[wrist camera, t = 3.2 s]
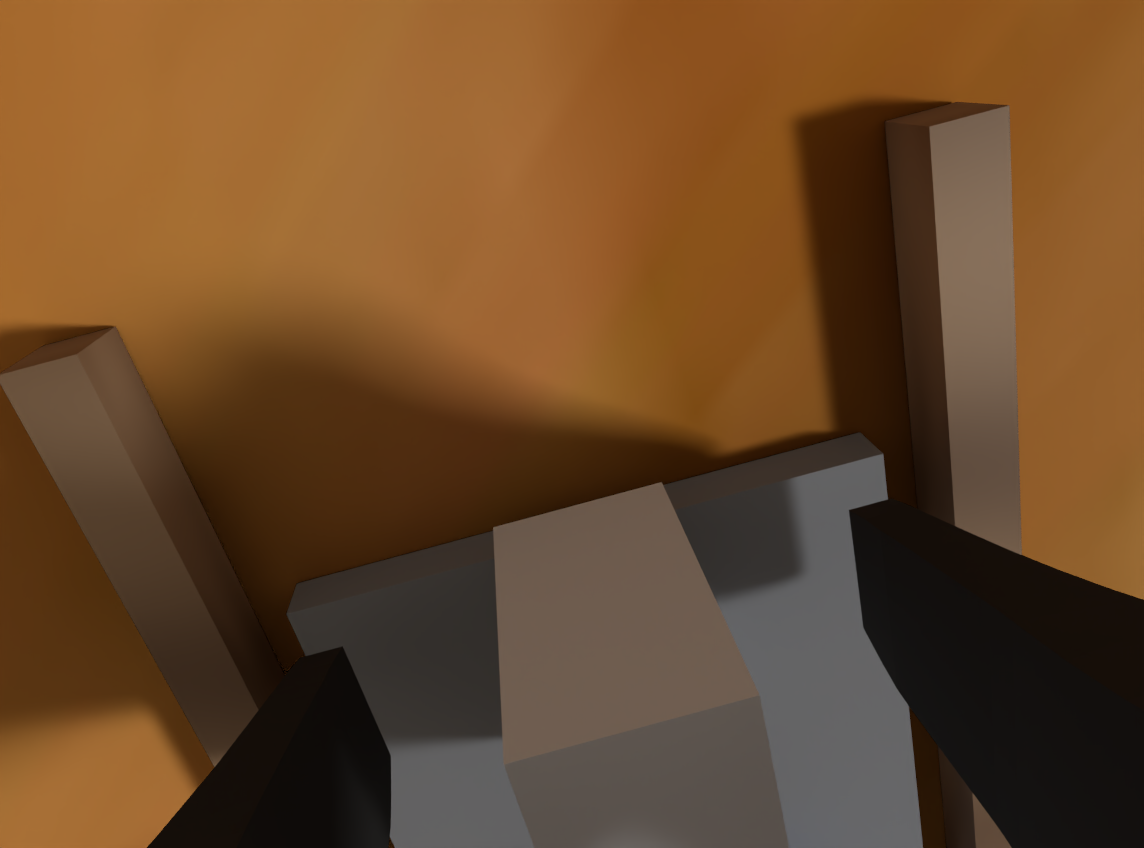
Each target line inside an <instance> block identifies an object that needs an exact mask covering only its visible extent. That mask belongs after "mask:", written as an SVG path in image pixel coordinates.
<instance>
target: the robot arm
mask: <svg viewBox="0 0 1144 848" xmlns="http://www.w3.org/2000/svg"><path fill="white" fill-rule="evenodd" d="M849 516H850V524H851V532H852V540H853V548H854V556H855V564H856V572H857V580H858V588H859V596H860V605H861V613H862V621H863V628H864V630H865V632H866V634H867V636H868V638H869V639H870V641H871V643H872V645H873V647H874V649H875V651H876V652H877V654H878V656H879V658H880V660H881V662H882V664H883V665H884V667H885V669H886V671H887V672H888V674H889V676H890V678H891V679H892V681H893V683H894V685H895V686H896V688H897V690H898V691H899V693H900V694H901V695H902V697H903V698H904V700H905V701H906V703H907V704H908V705H909V707H910V708H911V709H912V711H913V712H914V714H915V715H916V716H917V718H918V719H919V720H920V722H921V723H922V725H923V726H924V727H925V729H926V730H927V732H928V733H929V734H930V736H931V737H932V738H933V740H934V741H935V742H936V744H937V745H938V747H939V748H940V749H941V751H942V752H943V753H944V755H945V756H946V757H947V759H948V760H949V761H950V763H951V764H952V766H953V767H954V768H955V770H956V771H957V772H958V774H959V775H960V776H961V778H962V779H963V780H964V782H965V783H966V785H967V786H968V787H969V789H970V790H971V791H972V793H973V794H974V795H975V797H976V798H977V799H978V801H979V802H980V804H981V805H982V806H983V808H984V809H985V810H986V812H987V813H988V814H989V816H990V817H991V818H992V820H993V821H994V823H995V824H996V825H997V827H998V828H999V830H1000V831H1001V832H1002V834H1003V835H1004V837H1005V838H1006V840H1007V841H1008V843H1009V844H1010V846H1011V847H1012V848H1144V600H1143V599H1139V598H1136V597H1133V596H1130V595H1127V594H1124V593H1121V592H1118V591H1115V590H1112V589H1109V588H1106V587H1104V586H1101V585H1098V584H1096V583H1093V582H1090V581H1087V580H1085V579H1082V578H1079V577H1076V576H1074V575H1071V574H1068V573H1066V572H1063V571H1060V570H1057V569H1055V568H1052V567H1050V566H1047V565H1045V564H1042V563H1040V562H1037V561H1035V560H1032V559H1030V558H1028V557H1025V556H1023V555H1020V554H1018V553H1015V552H1013V551H1011V550H1008V549H1006V548H1004V547H1001V546H999V545H997V544H994V543H992V542H990V541H988V540H985V539H983V538H981V537H978V536H976V535H974V534H972V533H969V532H967V531H965V530H963V529H961V528H958V527H956V526H954V525H952V524H950V523H947V522H945V521H943V520H941V519H938V518H936V517H934V516H932V515H930V514H927V513H925V512H923V511H921V510H918V509H916V508H914V507H912V506H909V505H907V504H905V503H902V502H900V501H897V500H894V499H892V498H891V499H888V500H884V501H880V502H877V503H873V504H869V505H865V506H862V507H858V508H854V509H851V510H849ZM390 829H391V755H390V752H389V750H388V748H387V746H386V743H385V741H384V739H383V737H382V734H381V732H380V730H379V727H378V725H377V723H376V721H375V718H374V716H373V714H372V712H371V709H370V707H369V705H368V703H367V700H366V698H365V696H364V693H363V691H362V689H361V687H360V684H359V682H358V680H357V678H356V675H355V673H354V671H353V668H352V666H351V664H350V662H349V659H348V657H347V655H346V653H345V650H344V648H343V646H342V647H338V648H334V649H331V650H327V651H323V652H320V653H316V654H312V655H308V656H305V657H301V658H299V660H298V661H297V662H296V663H295V664H294V665H293V667H292V668H291V669H290V670H289V671H288V673H287V674H286V675H285V676H284V678H283V679H282V680H281V682H280V683H279V684H278V685H277V687H276V688H275V689H274V691H273V692H272V693H271V695H270V696H269V697H268V698H267V700H266V701H265V702H264V704H263V705H262V706H261V708H260V709H259V710H258V712H257V713H256V714H255V716H254V717H253V718H252V720H251V721H250V722H249V724H248V725H247V726H246V727H245V729H244V730H243V731H242V733H241V734H240V735H239V736H238V738H237V739H236V740H235V742H234V743H233V744H232V745H231V747H230V748H229V749H228V751H227V752H226V753H225V755H224V756H223V757H222V758H221V760H220V761H219V762H218V764H217V765H216V766H215V767H214V769H213V770H212V771H211V772H210V774H209V775H208V776H207V777H206V779H205V780H204V781H203V782H202V783H201V784H200V786H199V787H198V788H197V789H196V790H195V792H194V793H193V794H192V795H191V796H190V798H189V799H188V800H187V801H186V802H185V803H184V805H183V806H182V807H181V808H180V809H179V811H178V812H177V813H176V814H175V815H174V817H173V818H172V819H171V820H170V821H169V823H168V824H167V825H166V826H165V827H164V828H163V830H162V831H161V832H160V833H159V834H158V836H157V837H156V838H155V839H154V840H153V841H152V842H151V844H150V845H149V846H148V847H147V848H388V846H389V837H390Z"/></svg>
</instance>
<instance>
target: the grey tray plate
mask: <svg viewBox="0 0 1144 848" xmlns="http://www.w3.org/2000/svg"><path fill="white" fill-rule="evenodd" d="M884 500H888V496H887V486H886V476H885V466H884V456H883V453H882V452H881V451H880V450H879V449H878V448H877V447H876V446H874V445H873V444H872V443H871V442H870V441H869V440H868V439H867V438H866V437H865V436H864V435H863V434H862V433H860V432H859V433H855V434H851V435H848V436H844V437H840V438H836V439H833V440H829V441H825V442H822V443H818V444H814V445H810V446H807V447H803V448H799V449H796V450H792V451H788V452H784V453H781V454H777V455H773V456H770V457H766V458H762V459H758V460H755V461H751V462H747V463H743V464H740V465H736V466H732V467H729V468H725V469H721V470H717V471H714V472H710V473H706V474H703V475H699V476H695V477H691V478H688V479H684V480H680V481H677V482H673V483H669V484H665V485H663V484H662V482H660V483H656V484H652V485H649V486H645V487H641V488H638V489H634V490H630V491H626V492H623V493H619V494H615V495H612V496H608V497H604V498H600V499H597V500H593V501H589V502H585V503H582V504H578V505H574V506H571V507H567V508H563V509H559V510H556V511H552V512H548V513H545V514H541V515H537V516H533V517H530V518H526V519H522V520H519V521H515V522H511V523H507V524H504V525H500V526H496V527H493V531H490V532H487V533H483V534H479V535H476V536H472V537H468V538H464V539H461V540H457V541H453V542H450V543H446V544H442V545H438V546H435V547H431V548H427V549H424V550H420V551H416V552H412V553H409V554H405V555H401V556H397V557H394V558H390V559H386V560H383V561H379V562H375V563H371V564H368V565H364V566H360V567H357V568H353V569H349V570H345V571H342V572H338V573H334V574H331V575H327V576H323V577H319V578H316V579H312V580H308V581H304V582H301V583H297V585H296V588H295V590H294V593H293V596H292V599H291V602H290V605H289V608H288V611H287V614H286V615H287V617H288V619H289V621H290V623H291V625H292V627H293V630H294V632H295V634H296V636H297V638H298V640H299V643H300V645H301V647H302V649H303V651H304V653H305V655H306V656H308V655H312V654H316V653H320V652H323V651H327V650H331V649H334V648H338V647H342V646H343V648H344V650H345V653H346V655H347V657H348V659H349V662H350V664H351V666H352V668H353V671H354V673H355V675H356V678H357V680H358V682H359V684H360V687H361V689H362V691H363V693H364V696H365V698H366V700H367V703H368V705H369V707H370V709H371V712H372V714H373V716H374V718H375V721H376V723H377V725H378V727H379V730H380V732H381V734H382V737H383V739H384V741H385V743H386V746H387V748H388V750H389V752H390V755H391V829H390V838H391V840H392V842H393V844H394V847H395V848H923V842H922V832H921V822H920V812H919V802H918V793H917V783H916V773H915V763H914V753H913V743H912V733H911V723H910V714H909V705H908V704H907V703H906V701H905V700H904V698H903V697H902V695H901V694H900V693H899V691H898V690H897V688H896V686H895V685H894V683H893V681H892V679H891V678H890V676H889V674H888V672H887V671H886V669H885V667H884V665H883V664H882V662H881V660H880V658H879V656H878V654H877V652H876V651H875V649H874V647H873V645H872V643H871V641H870V639H869V638H868V636H867V634H866V632H865V630H864V628H863V621H862V613H861V605H860V596H859V588H858V580H857V572H856V564H855V556H854V548H853V540H852V532H851V524H850V516H849V510H851V509H854V508H858V507H862V506H865V505H869V504H873V503H877V502H880V501H884Z"/></svg>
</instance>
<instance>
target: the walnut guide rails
mask: <svg viewBox="0 0 1144 848" xmlns="http://www.w3.org/2000/svg"><path fill="white" fill-rule="evenodd" d="M885 131H886V143H887V154H888V166H889V178H890V190H891V202H892V213H893V225H894V237H895V249H896V260H897V272H898V284H899V296H900V307H901V319H902V331H903V343H904V354H905V366H906V378H907V390H908V401H909V413H910V425H911V437H912V448H913V460H914V472H915V484H916V496H917V507H918V510H921V511H923V512H925V513H927V514H930V515H932V516H934V517H936V518H938V519H941V520H943V521H945V522H947V523H950V524H952V525H954V526H956V527H958V528H961V529H963V530H965V531H967V532H969V533H972V534H974V535H976V536H978V537H981V538H983V539H985V540H988V541H990V542H992V543H994V544H997V545H999V546H1001V547H1004V548H1006V549H1008V550H1011V551H1013V552H1015V553H1018V554H1020V555H1022V549H1021V513H1020V476H1019V440H1018V404H1017V368H1016V331H1015V295H1014V259H1013V222H1012V186H1011V150H1010V113H1009V105H995V104H980V103H964V102H955V103H951V104H948V105H944V106H940V107H936V108H933V109H929V110H925V111H921V112H918V113H914V114H910V115H906V116H903V117H899V118H895V119H891V120H888V121H885ZM0 384H1V386H2V388H3V390H4V392H5V393H6V395H7V397H8V399H9V401H10V402H11V404H12V406H13V408H14V409H15V411H16V413H17V415H18V417H19V418H20V420H21V422H22V424H23V426H24V427H25V429H26V431H27V433H28V435H29V436H30V438H31V440H32V442H33V443H34V445H35V447H36V449H37V451H38V452H39V454H40V456H41V458H42V460H43V461H44V463H45V465H46V467H47V469H48V470H49V472H50V474H51V476H52V477H53V479H54V481H55V483H56V485H57V486H58V488H59V490H60V492H61V494H62V495H63V497H64V499H65V501H66V503H67V504H68V506H69V508H70V510H71V511H72V513H73V515H74V517H75V519H76V520H77V522H78V524H79V526H80V528H81V529H82V531H83V533H84V535H85V536H86V538H87V540H88V542H89V544H90V545H91V547H92V549H93V551H94V553H95V554H96V556H97V558H98V560H99V562H100V563H101V565H102V567H103V569H104V570H105V572H106V574H107V576H108V578H109V579H110V581H111V583H112V585H113V587H114V588H115V590H116V592H117V594H118V596H119V597H120V599H121V601H122V603H123V604H124V606H125V608H126V610H127V612H128V613H129V615H130V617H131V619H132V621H133V622H134V624H135V626H136V628H137V630H138V631H139V633H140V635H141V637H142V638H143V640H144V642H145V644H146V646H147V647H148V649H149V651H150V653H151V655H152V656H153V658H154V660H155V662H156V663H157V665H158V667H159V669H160V671H161V672H162V674H163V676H164V678H165V680H166V681H167V683H168V685H169V687H170V689H171V690H172V692H173V694H174V696H175V697H176V699H177V701H178V703H179V705H180V706H181V708H182V710H183V712H184V714H185V715H186V717H187V719H188V721H189V723H190V724H191V726H192V728H193V730H194V731H195V733H196V735H197V737H198V739H199V740H200V742H201V744H202V746H203V748H204V749H205V751H206V753H207V755H208V757H209V758H210V760H211V762H212V764H213V765H214V767H215V766H216V765H217V764H218V762H219V761H220V760H221V758H222V757H223V756H224V755H225V753H226V752H227V751H228V749H229V748H230V747H231V745H232V744H233V743H234V742H235V740H236V739H237V738H238V736H239V735H240V734H241V733H242V731H243V730H244V729H245V727H246V726H247V725H248V724H249V722H250V721H251V720H252V718H253V717H254V716H255V714H256V713H257V712H258V710H259V709H260V708H261V706H262V705H263V704H264V702H265V701H266V700H267V698H268V697H269V696H270V695H271V693H272V692H273V691H274V689H275V688H276V687H277V685H278V684H279V683H280V682H281V680H282V679H283V678H284V676H285V675H284V673H283V671H282V669H281V667H280V665H279V663H278V661H277V659H276V657H275V655H274V653H273V651H272V648H271V646H270V644H269V642H268V640H267V638H266V636H265V634H264V632H263V630H262V628H261V626H260V624H259V622H258V620H257V618H256V615H255V613H254V611H253V609H252V607H251V605H250V603H249V601H248V599H247V597H246V595H245V593H244V591H243V589H242V587H241V584H240V582H239V580H238V578H237V576H236V574H235V572H234V570H233V568H232V566H231V564H230V562H229V560H228V558H227V556H226V553H225V551H224V549H223V547H222V545H221V543H220V541H219V539H218V537H217V535H216V533H215V531H214V529H213V527H212V525H211V523H210V520H209V518H208V516H207V514H206V512H205V510H204V508H203V506H202V504H201V502H200V500H199V498H198V496H197V494H196V492H195V489H194V487H193V485H192V483H191V481H190V479H189V477H188V475H187V473H186V471H185V469H184V467H183V465H182V463H181V461H180V458H179V456H178V454H177V452H176V450H175V448H174V446H173V444H172V442H171V440H170V438H169V436H168V434H167V432H166V430H165V428H164V425H163V423H162V421H161V419H160V417H159V415H158V413H157V411H156V409H155V407H154V405H153V403H152V401H151V399H150V397H149V394H148V392H147V390H146V388H145V386H144V384H143V382H142V380H141V378H140V376H139V374H138V372H137V370H136V368H135V366H134V363H133V361H132V359H131V357H130V355H129V353H128V351H127V349H126V347H125V345H124V343H123V341H122V339H121V337H120V335H119V332H118V330H117V328H116V326H115V327H112V328H108V329H104V330H100V331H97V332H93V333H89V334H85V335H82V336H78V337H74V338H70V339H67V340H63V341H59V342H55V343H52V344H48V345H44V346H42V347H40V348H39V349H37V350H35V351H34V352H32V353H31V354H29V355H28V356H26V357H25V358H23V359H21V360H20V361H18V362H17V363H15V364H14V365H12V366H10V367H9V368H7V369H6V370H4V371H3V372H1V373H0ZM938 754H939V766H940V778H941V790H942V801H943V813H944V825H945V837H946V848H1012V847H1011V846H1010V844H1009V843H1008V841H1007V840H1006V838H1005V837H1004V835H1003V834H1002V832H1001V831H1000V830H999V828H998V827H997V825H996V824H995V823H994V821H993V820H992V818H991V817H990V816H989V814H988V813H987V812H986V810H985V809H984V808H983V806H982V805H981V804H980V802H979V801H978V799H977V798H976V797H975V795H974V794H973V793H972V791H971V790H970V789H969V787H968V786H967V785H966V783H965V782H964V780H963V779H962V778H961V776H960V775H959V774H958V772H957V771H956V770H955V768H954V767H953V766H952V764H951V763H950V761H949V760H948V759H947V757H946V756H945V755H944V753H943V752H942V751H941V749H940V748H939V747H938Z"/></svg>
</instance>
